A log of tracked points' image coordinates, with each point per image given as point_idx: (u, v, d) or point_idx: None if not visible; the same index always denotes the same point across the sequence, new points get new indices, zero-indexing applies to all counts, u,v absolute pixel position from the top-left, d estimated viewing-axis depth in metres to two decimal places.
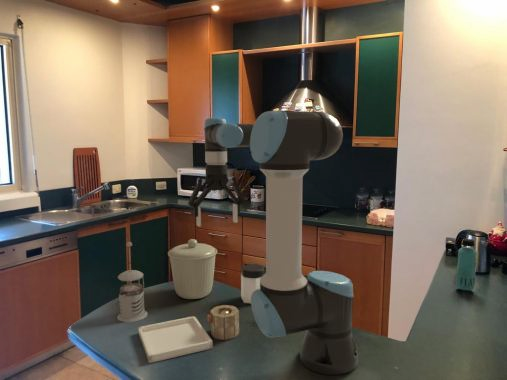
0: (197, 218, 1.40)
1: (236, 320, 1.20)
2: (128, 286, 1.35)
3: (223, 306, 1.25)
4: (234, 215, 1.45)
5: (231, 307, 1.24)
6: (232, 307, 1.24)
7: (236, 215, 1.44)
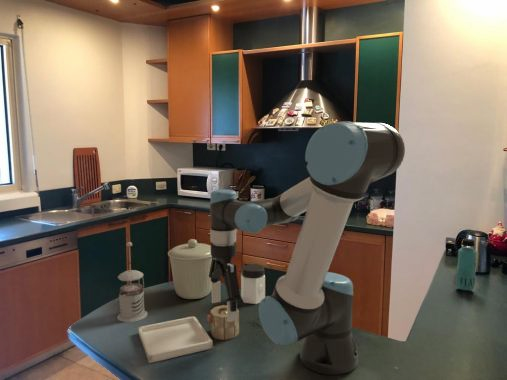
0: None
1: None
2: (128, 286, 1.35)
3: (223, 306, 1.25)
4: None
5: None
6: None
7: (227, 312, 1.15)
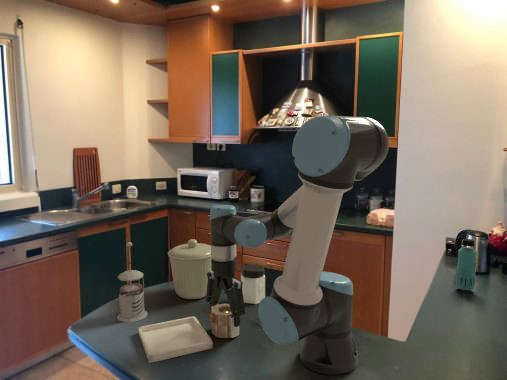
0: None
1: None
2: (128, 286, 1.35)
3: (221, 305, 1.24)
4: None
5: None
6: None
7: (231, 328, 1.18)
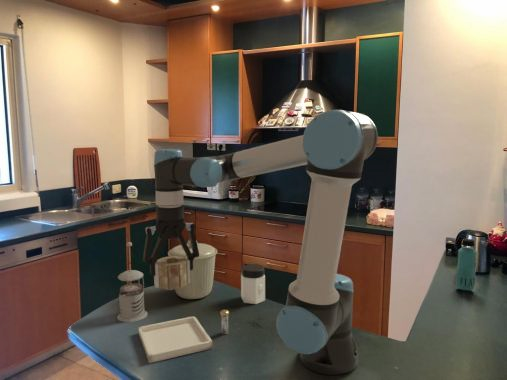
0: (155, 277, 1.13)
1: None
2: (128, 286, 1.35)
3: (160, 260, 1.15)
4: None
5: (165, 258, 1.17)
6: (165, 258, 1.17)
7: (188, 273, 1.16)
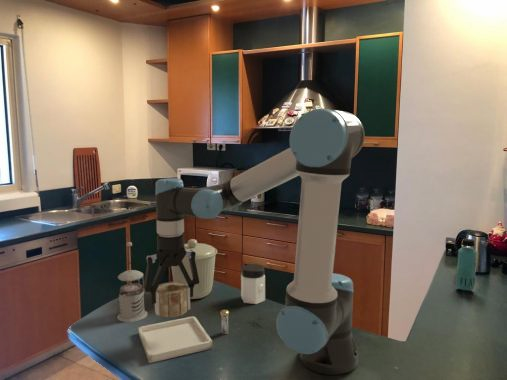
0: (155, 304, 1.14)
1: None
2: (128, 286, 1.35)
3: (160, 288, 1.16)
4: None
5: (165, 285, 1.18)
6: (166, 284, 1.18)
7: (188, 300, 1.17)
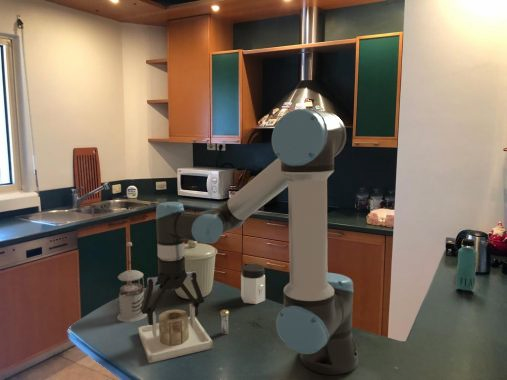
0: (152, 326, 1.15)
1: None
2: (128, 286, 1.35)
3: (162, 316, 1.17)
4: (191, 319, 1.19)
5: (167, 312, 1.19)
6: (167, 312, 1.20)
7: (193, 320, 1.18)
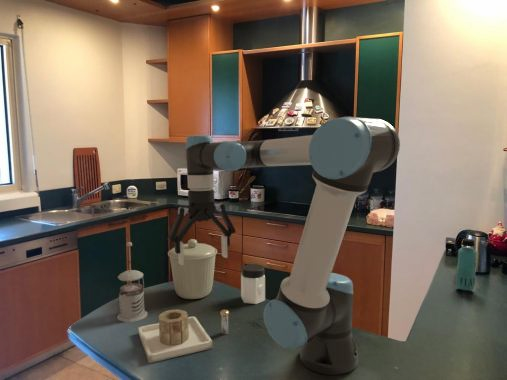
0: (179, 255, 1.16)
1: None
2: (128, 286, 1.35)
3: (162, 316, 1.17)
4: (223, 249, 1.22)
5: (167, 312, 1.19)
6: (167, 312, 1.20)
7: (226, 249, 1.22)
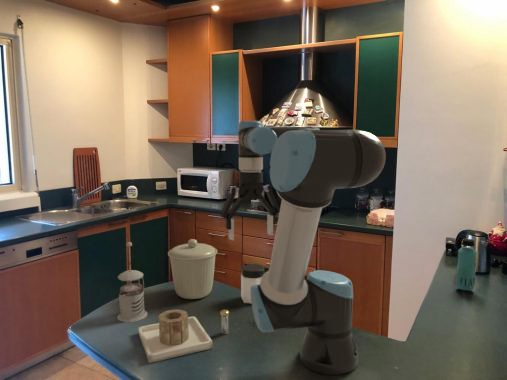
0: (230, 231, 1.27)
1: None
2: (128, 286, 1.35)
3: (162, 316, 1.17)
4: (269, 227, 1.32)
5: (167, 312, 1.19)
6: (167, 312, 1.20)
7: (271, 227, 1.31)
